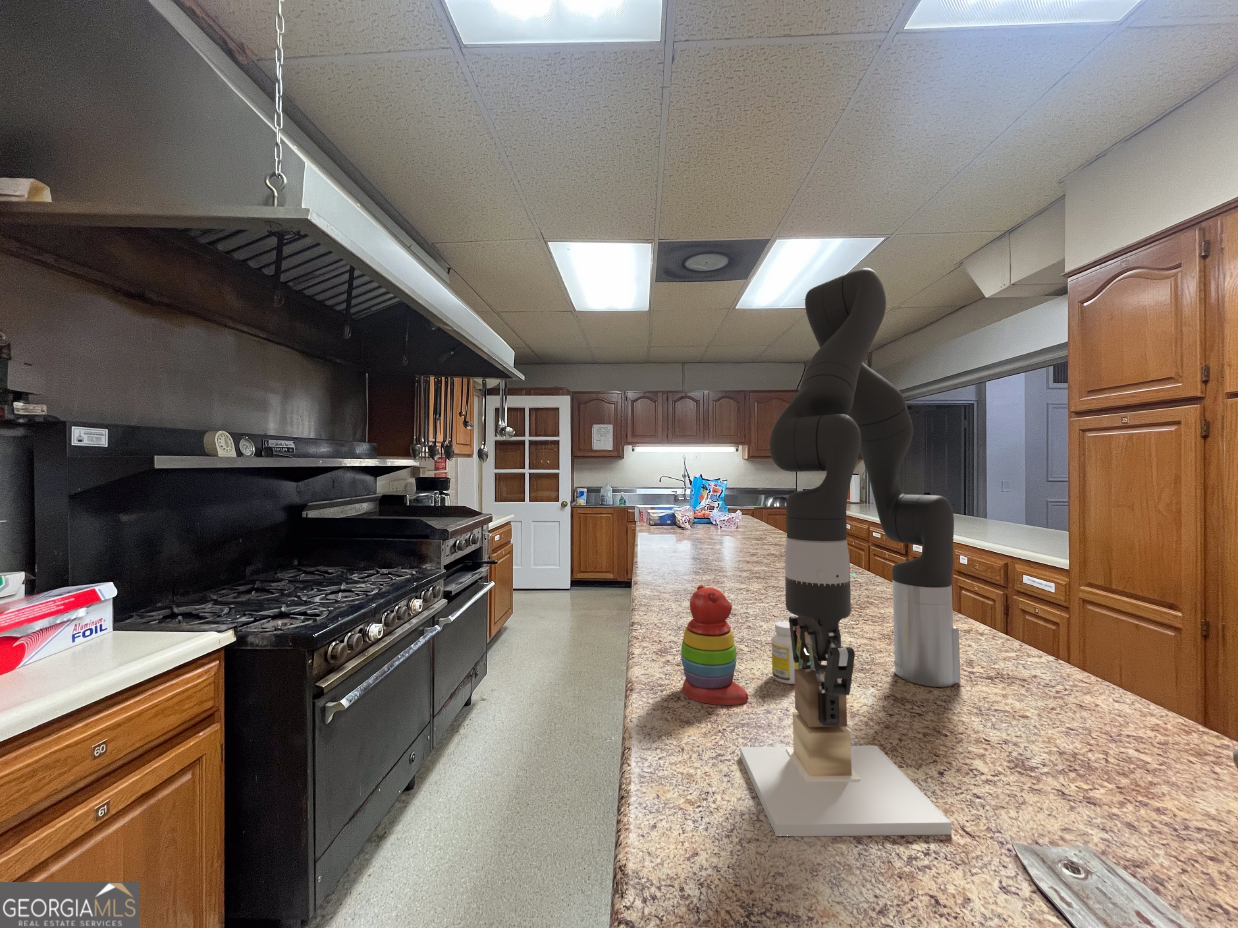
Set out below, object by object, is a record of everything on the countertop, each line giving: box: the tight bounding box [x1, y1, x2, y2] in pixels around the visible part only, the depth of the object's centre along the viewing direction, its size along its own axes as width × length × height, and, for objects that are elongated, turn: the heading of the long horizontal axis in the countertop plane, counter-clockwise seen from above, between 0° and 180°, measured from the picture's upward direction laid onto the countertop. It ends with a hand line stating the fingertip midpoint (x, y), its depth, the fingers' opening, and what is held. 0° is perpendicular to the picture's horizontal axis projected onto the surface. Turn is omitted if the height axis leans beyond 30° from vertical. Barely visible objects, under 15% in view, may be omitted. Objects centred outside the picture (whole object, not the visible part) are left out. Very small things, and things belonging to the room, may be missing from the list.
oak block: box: [792, 711, 852, 776], centre depth 58 cm, size 5×5×5 cm
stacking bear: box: [680, 584, 749, 706], centre depth 81 cm, size 11×10×18 cm
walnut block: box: [794, 669, 848, 728], centre depth 59 cm, size 4×4×5 cm
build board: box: [739, 745, 953, 837], centre depth 55 cm, size 18×14×1 cm
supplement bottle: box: [771, 621, 799, 685], centre depth 86 cm, size 5×5×10 cm
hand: (819, 712), depth 58 cm, fingers closed on walnut block, 4 cm apart
